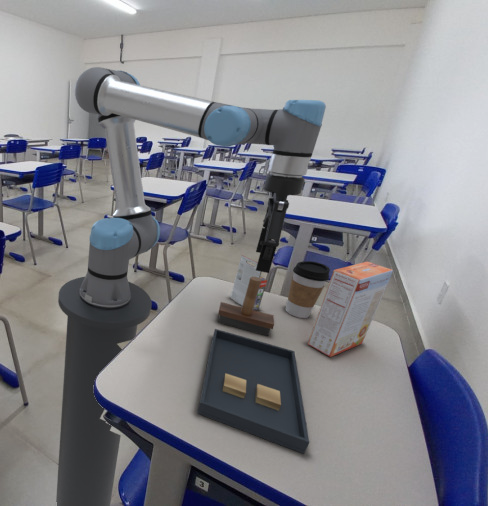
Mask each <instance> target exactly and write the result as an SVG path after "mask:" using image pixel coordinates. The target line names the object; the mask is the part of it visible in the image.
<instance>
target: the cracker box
mask: <svg viewBox="0 0 488 506" xmlns="http://www.w3.org/2000/svg"><path fill="white" fill-rule="evenodd" d="M393 272H394V269H392V268H389V267H385V266H382V265H379V264H377V263H373V262H371V261H364V262H360V263H356V264H352V265H348V266H344V267H341V268H340V267H339V268H336V269H333V271H332V274H331V277H330V280H329V283H328V285H327V287H326V291H325V294H324V297H323V299H322V303H321V306H320V308H319V311H318V314H317V316H316V320H315V322H314V325H313V327H312V331H311V334H310V337H309V339H308V342H307V345H308V346H310V347H312V348H313V349H315V350H317V351H318V352H321V353H322V354H324V355H326V356H327V357H329V358H332V357H334V356H336V355H339V354H341V353H344V352H346V351H348V350H350V349H353V348H355V347H357V346H360V345H362V344H363V343H364V340H365V338H366V335H367V333H368V331H369V328H370V326H371V324H372V322H373V319H374V317H375V314H376V312H377V310H378V307H379V305H380V303H381V300H382V298H383V295H384V294H385V291H386V289H387V286H388V284H389V282H390V279H391V277H392V275H393Z"/></svg>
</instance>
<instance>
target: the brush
mask: <svg viewBox="0 0 488 506" xmlns="http://www.w3.org/2000/svg"><path fill="white" fill-rule="evenodd" d="M261 281H262V280H261V279H260V278H258V277H250V280H249V284H248V287H247V291H246V295H245V298H244V302H243V305H241V306H239V305H234V304H230V303H226V302H222V301H220V304H219V308H218V313H217V314H218V321H217V323H219V324H223V325H226V326H230V327H233V328H237V329H241V330H244V331H249V332H251V333H254V334H259V335H262V336H266V337H268V336H269V333H270V331H271V330H274V326H275V317H274V314H270V313H266V312H262V311H258V310H253V308H254V304H255V301H256V298H257V294H258V291H259V287H260V284H261Z"/></svg>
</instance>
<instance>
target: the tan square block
mask: <svg viewBox="0 0 488 506" xmlns="http://www.w3.org/2000/svg"><path fill="white" fill-rule="evenodd" d="M222 391H223V392H226V393H229V394H232V395H235V396H238V397H241V398H244V397H245V394H246V380H244V379H241V378H238V377H235V376H232V375H229V374H226V373H225V376H224V381H223V389H222Z"/></svg>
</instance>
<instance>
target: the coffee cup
mask: <svg viewBox="0 0 488 506" xmlns="http://www.w3.org/2000/svg"><path fill="white" fill-rule="evenodd" d="M292 271H293V276H292V277H291V282H290V286H289V291H288V294H287V301H286V304H285V312H286V313H288V314H289V315H291V316H293V317H296V318H298V319H299V318H300V319H307V318H309V317H310V315H311V313H312V311H313V309H314V307H315V305H316V303H317V302H318V299H319V298H320V295H321V294H322V291H323V290H324V288H325V284H326V282H327V281H329V278H330V271H331V268H330V267H329V266H327V265H325V264H324V263H321V262H318V261H312V260H311V261H310V260H306V261H305V260H303V261H299V262H297V263H296V265H295V266H294V267H293V269H292Z"/></svg>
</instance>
